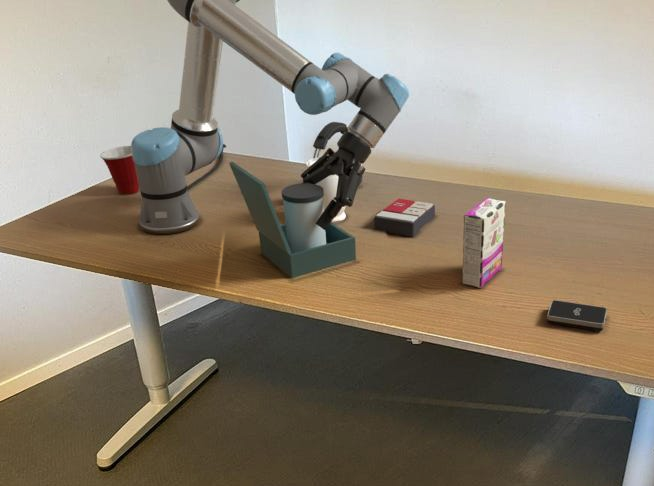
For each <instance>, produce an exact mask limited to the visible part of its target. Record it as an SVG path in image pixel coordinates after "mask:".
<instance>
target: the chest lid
mask: <svg viewBox="0 0 654 486" xmlns="http://www.w3.org/2000/svg"><path fill="white" fill-rule="evenodd" d="M228 164H229V167H230V169H231V171H232V174H233V176H234V179H235V181H236V183H237V186H238V188H239V190H240V193H241V195H242V198H243V201H244V202H245V206H246V207H247V210H248V213H249V214H250V217H251V219H252V221H253V224H254V227H255V229H256V231H258V233H259V232H261V233H262V234H263V235H264V236H266V237H267V238H268V239H269V240H271V241H272V242H273V243H274V244H276V245H277V246H278V247H280V248H281V249H282V250H283V251H285V252H286V253H287V254H290V253H291V251H290V248H289V245H288V243H287V240H286V238H285V235H284V233H283V230H282V227H281V225H282V224H281V222H280V220H279V217H278V215H277V212H276V210H275V207H274V204H273V201H272V199H271V197H270V194H269V192H268V189H267V186H266V183H265V182H263V180H261V179H259V178H257V177H256V176H255V175H253V174H252V173H250V172H249V171H248V170H246V169H244V168H243V167H241V166H240V165H238V164H237V163H236V162H234V161H230V162H228Z"/></svg>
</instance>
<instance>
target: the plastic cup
mask: <svg viewBox="0 0 654 486" xmlns="http://www.w3.org/2000/svg"><path fill="white" fill-rule="evenodd" d="M99 156H100V158H101V159H102V160H103V161H104V163H105V165H106V167H107V169H108V171H109V173H110V176H111V178H112V181H113V183H114V184H115V187H116V189H117V192H118V193H119V194H121V195H133V194H136V193H138V192H139V191H140V187H139V183H138V179H137V174H136V170H135V165H134V161H133V158H132V148H131V145H121V146H116V147H112V148H110V149H107V150H105V151H103V152H102V153H100V154H99Z"/></svg>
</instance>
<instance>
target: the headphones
mask: <svg viewBox="0 0 654 486" xmlns="http://www.w3.org/2000/svg"><path fill="white" fill-rule="evenodd" d="M347 127H348V126H347V124H346V123H344V122H339V121H330V122H329V123H327V124H326V125H325V126H324V127H322V129H321V130H320V131H319V133H318V135H317V136H316V137H315V140H314V142H313V145H312V148H314V153H313V157H312V159H314V158H319V157H320V153H321V151H322V150H326V147H327V144H328V142H329V141H330V139H331V138H333V136H335V134H337V133H340V134H341V135H343V133H344V132H346V131H347V132H348V129H347ZM360 164H361V165H362V163H360ZM362 183H363V176H362V177H361V179H360V182H359V185H358V187H360V185H361V184H362Z"/></svg>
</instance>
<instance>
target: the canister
mask: <svg viewBox="0 0 654 486" xmlns="http://www.w3.org/2000/svg"><path fill="white" fill-rule="evenodd" d="M323 196H324V190H323V188H322V187H321V186H319V185H316V184H308V183H303V182H302V183H294V184H290V185H288V186H286V187H283V189H282V190H281V198H282V204H283V213H284V222H285V223H284V224H286V233H287V243H288V245H289V248H290V251H291V253H296V252H299V251H303V250H307V249H310V248H314V247H317V246H321V245H325V244H326V232H325V230H324V229H322V228H321V227H320V226H318V225H317V224H316V222H317V221H318V219H319V218H320V216H321V215H322V213H323V212H324V203H323Z"/></svg>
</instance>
